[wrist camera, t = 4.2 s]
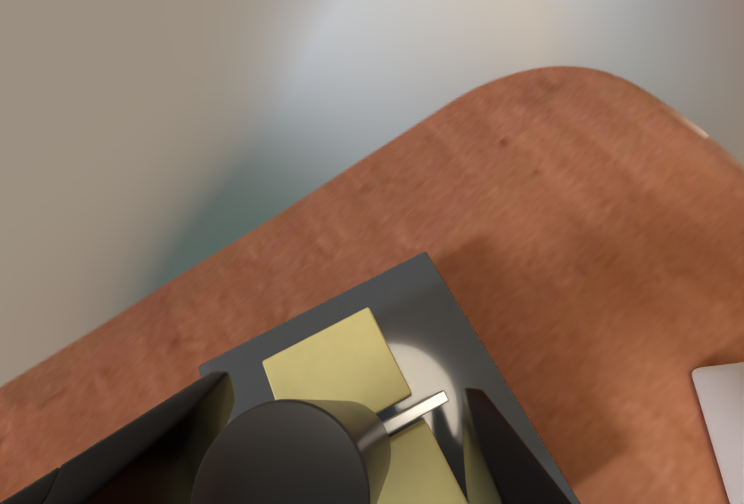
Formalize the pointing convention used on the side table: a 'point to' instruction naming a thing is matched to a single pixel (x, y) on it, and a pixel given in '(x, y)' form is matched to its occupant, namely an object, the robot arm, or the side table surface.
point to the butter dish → (401, 357)
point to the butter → (367, 401)
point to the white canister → (725, 421)
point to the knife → (302, 453)
